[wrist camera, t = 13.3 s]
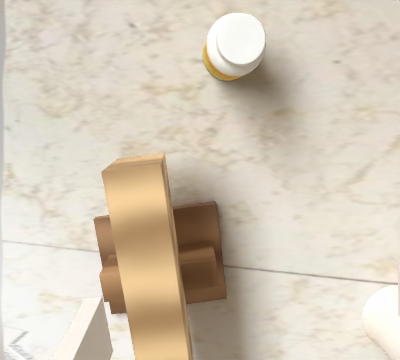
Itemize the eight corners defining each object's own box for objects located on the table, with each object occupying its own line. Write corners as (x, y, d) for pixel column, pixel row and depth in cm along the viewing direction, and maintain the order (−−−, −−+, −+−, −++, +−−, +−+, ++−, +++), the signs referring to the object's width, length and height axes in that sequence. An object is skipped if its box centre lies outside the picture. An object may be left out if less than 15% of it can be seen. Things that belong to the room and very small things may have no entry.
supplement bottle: (214, 20, 37) (225, -10, 27) (259, 42, 38) (285, 20, 28) (194, 69, 38) (198, 56, 28) (238, 89, 38) (257, 83, 29)
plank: (117, 158, 33) (101, 171, 26) (164, 153, 33) (160, 164, 26) (156, 390, 38) (151, 450, 32) (197, 384, 39) (200, 443, 32)
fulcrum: (95, 216, 40) (81, 235, 34) (215, 201, 41) (221, 216, 35) (113, 309, 43) (102, 341, 37) (225, 294, 43) (232, 323, 37)
